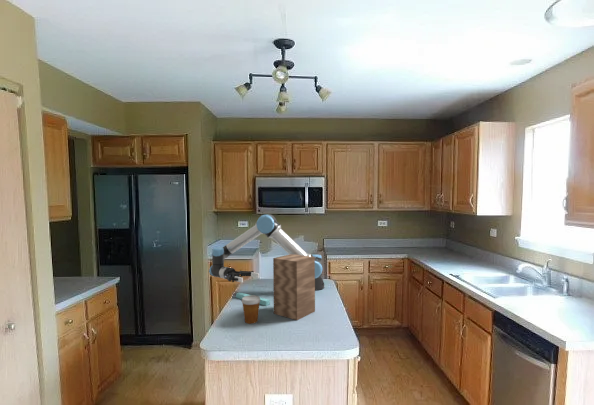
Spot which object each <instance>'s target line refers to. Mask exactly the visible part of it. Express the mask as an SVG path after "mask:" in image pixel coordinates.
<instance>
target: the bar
mask: <svg viewBox="0 0 594 405" xmlns="http://www.w3.org/2000/svg"><path fill="white" fill-rule="evenodd" d="M249 295H250V294H248V293H245V292H244V293H243V292H237V293H235V298H236V299H240V300H242V298H243V297H245V296H249ZM259 305H262V306H265V307H267V306H270V305H271V299H267V298H264V297H260V303H259Z"/></svg>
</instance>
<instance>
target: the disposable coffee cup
mask: <svg viewBox="0 0 594 405" xmlns="http://www.w3.org/2000/svg"><path fill="white" fill-rule="evenodd" d="M248 295H249V296H245V297H243V298H242V299H241V302H242V309H243V317H244V322H245V324H249V325H250V324H256V323H257V322H258V320H259V312H260V310H259V309H260V304H259V303H260V298H261V296H259V295H254V294H253V295H252V294H248Z"/></svg>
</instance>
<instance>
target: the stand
mask: <svg viewBox="0 0 594 405" xmlns="http://www.w3.org/2000/svg"><path fill="white" fill-rule="evenodd" d="M272 260H273V262H272V265H273V266H272V267H273V268H272V271H273V272H272V273H273V275H272V276H273V277H272V278H273V281H272V282H273V286H272V287H273V314H274V315H278V316H281V317H283V318H288V319H291V320H295V321H299V320H301V319H303V318H304V317H307V316H309V315H311V314H313V313H315V312H316V290H315V257H311V256H303V255H295V254H290V255H289V254H286V255H281V256H277V257H274V258H272Z"/></svg>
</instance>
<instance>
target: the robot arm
mask: <svg viewBox="0 0 594 405" xmlns="http://www.w3.org/2000/svg"><path fill="white" fill-rule="evenodd" d="M261 235H265V236H266V237H267V238H268V239H272V240H273V241H275V243H277V244H278V246H280V248H282V249H283V250H284V251H285V252H286V253H287V255H290V254H295V255H303V256H311V257H315V291H321V290H324V289H325V282H324V280H323V274H322V272H323V265H322V264H323V256H322V255H321V254H312V253H308V252H306V251H305V250H304V249H303V248H302V247H301V246H300V245H299V244H298V243H297V242H296V241H295V240H293V238H292V237H291V236H289V235H288V233H286V232H285V231H284V230H283V229H282V224H281V223H279V222H278V221H277V218H276V217H275V216H274V215H273V214H271V213H267V214H261V216H259V217H258V219H257V221H256V222H255V224H254V225H253V226H251V227H250V228H249V229H247V230H246V231H244V232H243V233H242V234H240V235H239V236H237V237H235V239H233V240H231V241H230V242H229V243H227V244H225V245H223V247H221V246H218V247H213V248H212V251H211V256H212V257H211V258H212V265H211V266H210V267H209V269H208V272H209V273H208V274H209V275H210V276H213V277H215V278H221V279H224V280H226V281H228V282H231V283H235V282H236V283H237V282H238V283H243V282H244V277H250V278H256V279H260V273H258V272H255V271H254V270H250V271H249V270H239V271H238V270H236V269H235V268H233V267H229V266H225V259H227V258H228V257H230V256H231V255H233V254H234V253H235V252H237V251H239V250H240V249H241V248H242V247H244V246H246V245H247V244H248V243H250V242H252V241H253V240H255V239H256V238H258V237H259V236H261Z"/></svg>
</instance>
